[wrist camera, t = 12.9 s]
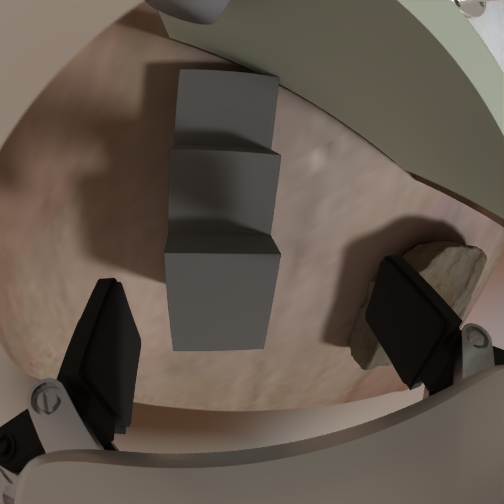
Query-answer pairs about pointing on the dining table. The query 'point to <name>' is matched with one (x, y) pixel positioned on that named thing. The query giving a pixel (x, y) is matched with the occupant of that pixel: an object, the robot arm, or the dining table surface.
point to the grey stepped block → (222, 211)
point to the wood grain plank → (462, 200)
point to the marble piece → (439, 277)
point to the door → (374, 76)
